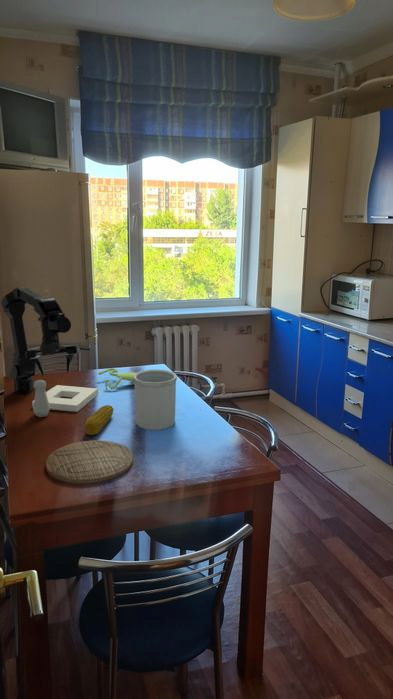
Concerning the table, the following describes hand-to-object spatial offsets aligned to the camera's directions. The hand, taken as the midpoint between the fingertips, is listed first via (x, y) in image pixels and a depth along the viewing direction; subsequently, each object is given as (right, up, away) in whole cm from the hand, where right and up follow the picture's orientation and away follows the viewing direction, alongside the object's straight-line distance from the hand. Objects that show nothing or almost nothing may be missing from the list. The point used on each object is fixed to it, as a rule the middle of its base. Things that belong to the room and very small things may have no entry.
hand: (55, 374), depth 190 cm
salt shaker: (-4, -15, -4) cm, 16 cm away
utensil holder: (+38, -17, -9) cm, 42 cm away
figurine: (+23, -6, +32) cm, 40 cm away
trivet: (+21, -25, -40) cm, 51 cm away
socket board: (+1, -11, +11) cm, 15 cm away
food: (+19, -18, -13) cm, 29 cm away
